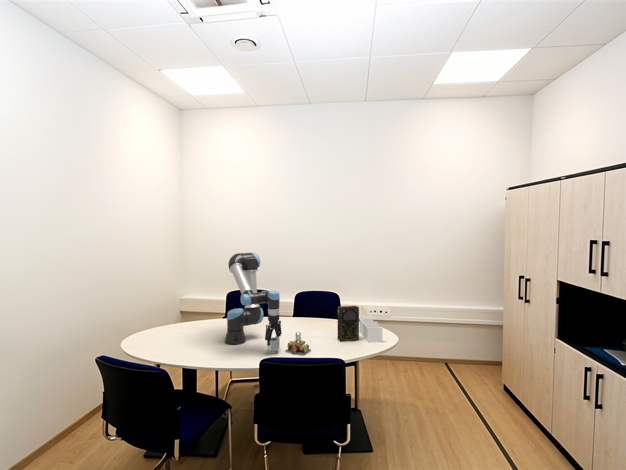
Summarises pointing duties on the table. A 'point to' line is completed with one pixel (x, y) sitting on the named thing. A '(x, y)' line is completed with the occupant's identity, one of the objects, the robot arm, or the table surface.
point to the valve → (298, 346)
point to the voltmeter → (348, 323)
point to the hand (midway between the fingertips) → (273, 347)
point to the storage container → (370, 330)
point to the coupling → (275, 343)
